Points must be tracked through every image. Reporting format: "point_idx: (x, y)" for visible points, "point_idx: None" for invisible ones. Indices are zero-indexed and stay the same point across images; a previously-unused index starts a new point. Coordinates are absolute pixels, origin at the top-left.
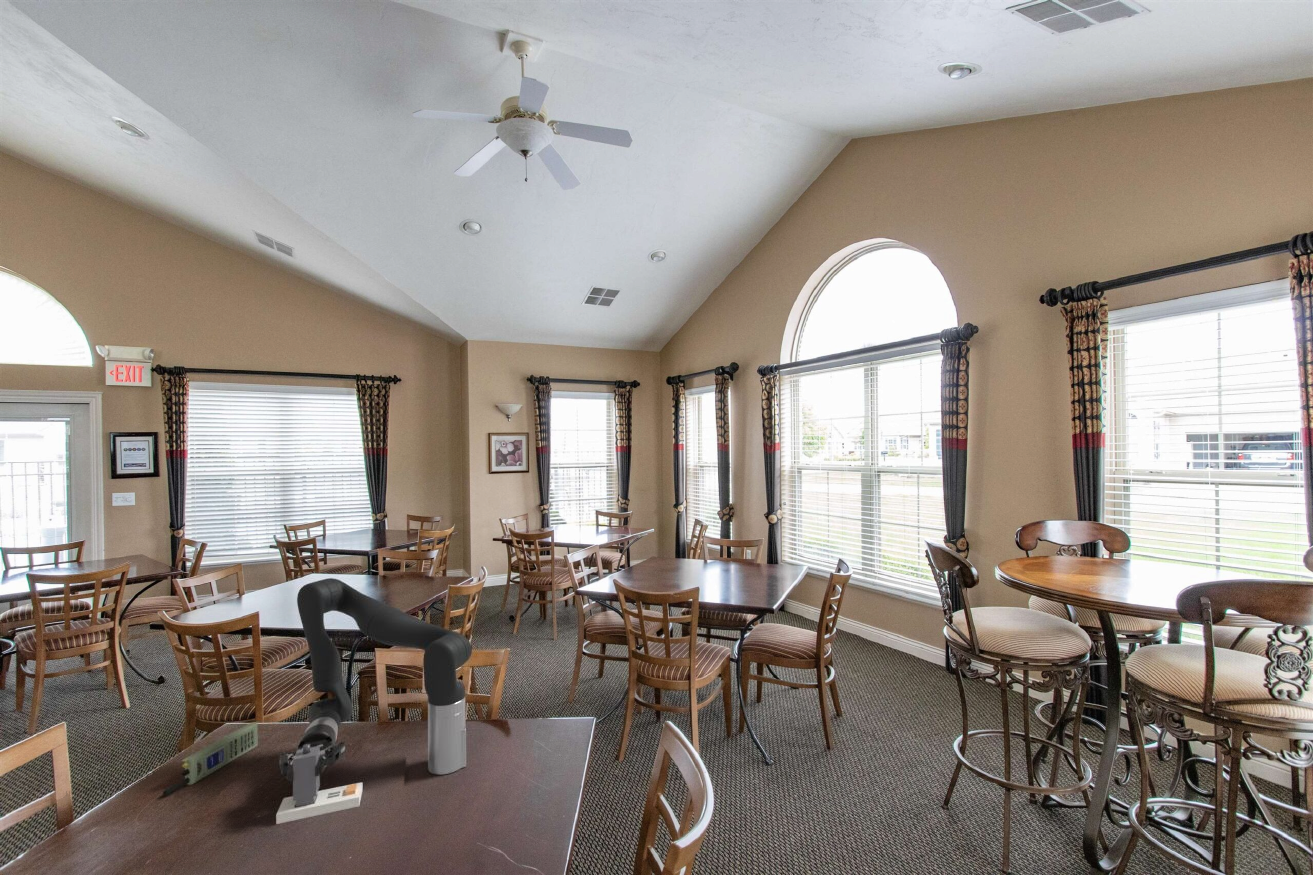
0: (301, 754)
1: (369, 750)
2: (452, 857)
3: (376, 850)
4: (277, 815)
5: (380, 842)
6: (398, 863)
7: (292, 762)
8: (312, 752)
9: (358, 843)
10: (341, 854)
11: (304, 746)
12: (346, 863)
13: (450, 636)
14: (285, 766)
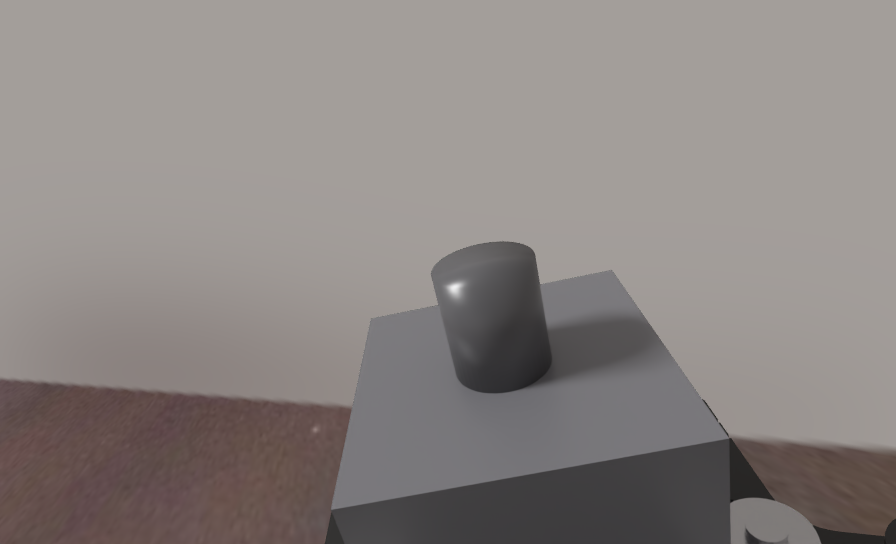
0: (558, 334)
1: None
2: (78, 403)
3: (234, 446)
4: None
5: (210, 479)
6: (199, 397)
7: (764, 515)
8: (420, 362)
9: (281, 485)
10: (343, 442)
11: (505, 250)
12: (329, 408)
13: None
14: (873, 540)
